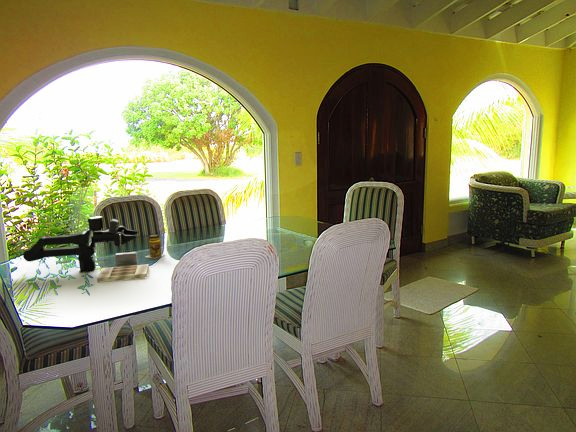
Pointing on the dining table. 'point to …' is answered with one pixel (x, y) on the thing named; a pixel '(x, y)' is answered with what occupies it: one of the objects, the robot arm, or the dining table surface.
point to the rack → (123, 272)
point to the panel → (126, 259)
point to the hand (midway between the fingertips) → (137, 234)
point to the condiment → (154, 247)
